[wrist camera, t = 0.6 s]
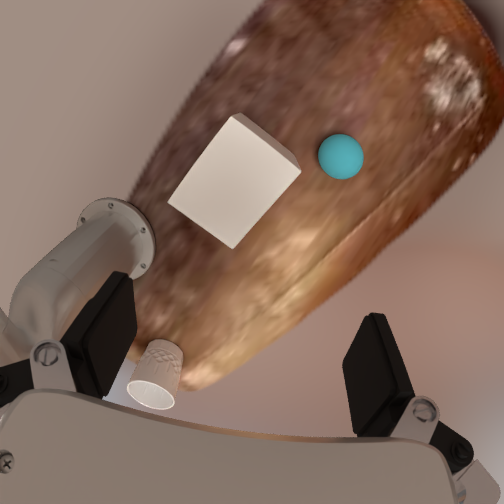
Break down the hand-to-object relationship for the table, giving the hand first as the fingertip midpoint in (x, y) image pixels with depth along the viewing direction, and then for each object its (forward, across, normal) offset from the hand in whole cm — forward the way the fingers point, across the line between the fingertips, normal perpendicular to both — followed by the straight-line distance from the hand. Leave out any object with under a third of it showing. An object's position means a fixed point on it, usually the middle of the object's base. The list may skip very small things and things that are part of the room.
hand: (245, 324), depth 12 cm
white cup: (+26, +12, +34) cm, 44 cm away
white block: (+26, +3, 0) cm, 26 cm away
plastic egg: (+24, -8, -4) cm, 25 cm away
